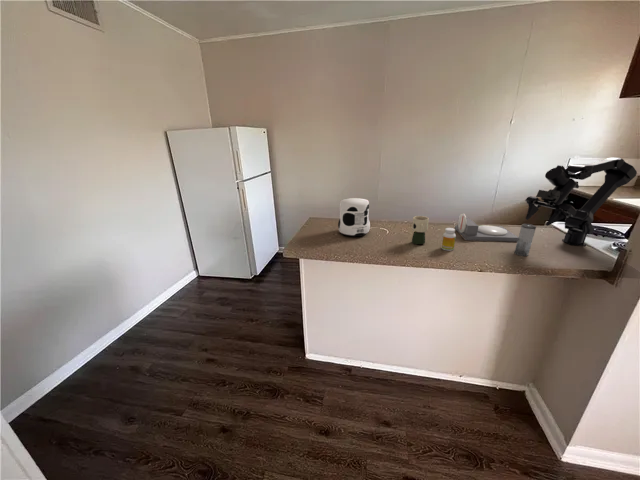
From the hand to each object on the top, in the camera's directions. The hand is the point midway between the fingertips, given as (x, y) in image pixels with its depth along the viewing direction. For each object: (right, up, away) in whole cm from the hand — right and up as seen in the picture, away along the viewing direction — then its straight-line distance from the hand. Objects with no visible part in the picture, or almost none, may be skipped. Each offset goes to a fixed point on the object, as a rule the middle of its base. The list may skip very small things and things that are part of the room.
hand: (536, 222), depth 119 cm
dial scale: (-9, -5, +23) cm, 25 cm away
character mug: (-47, -10, +15) cm, 50 cm away
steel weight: (-6, -14, 0) cm, 15 cm away
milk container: (-76, -4, +31) cm, 82 cm away
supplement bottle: (-36, -12, +7) cm, 38 cm away
